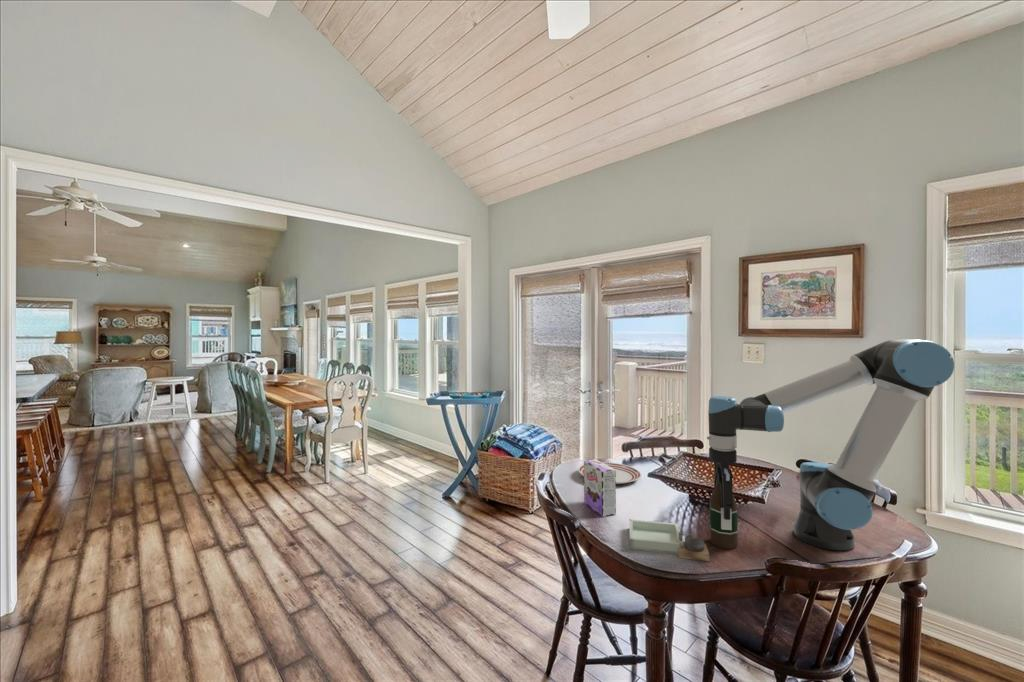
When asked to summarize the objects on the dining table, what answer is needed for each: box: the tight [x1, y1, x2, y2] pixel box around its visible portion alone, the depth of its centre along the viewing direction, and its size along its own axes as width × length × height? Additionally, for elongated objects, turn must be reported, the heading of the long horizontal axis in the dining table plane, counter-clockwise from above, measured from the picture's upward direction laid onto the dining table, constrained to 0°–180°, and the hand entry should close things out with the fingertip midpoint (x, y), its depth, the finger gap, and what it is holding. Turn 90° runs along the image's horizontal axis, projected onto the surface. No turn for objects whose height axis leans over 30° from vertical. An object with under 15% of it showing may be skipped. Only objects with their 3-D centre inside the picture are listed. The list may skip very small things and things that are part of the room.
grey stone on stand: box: [677, 531, 710, 562], centre depth 124 cm, size 8×6×5 cm
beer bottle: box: [709, 464, 739, 550], centre depth 130 cm, size 8×8×24 cm
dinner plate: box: [577, 461, 642, 486], centre depth 191 cm, size 27×27×3 cm
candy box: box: [583, 458, 617, 518], centre depth 157 cm, size 14×6×16 cm, turn 18°
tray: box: [628, 518, 684, 555], centre depth 132 cm, size 15×14×3 cm
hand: (723, 523), depth 130 cm, fingers closed on beer bottle, 7 cm apart
